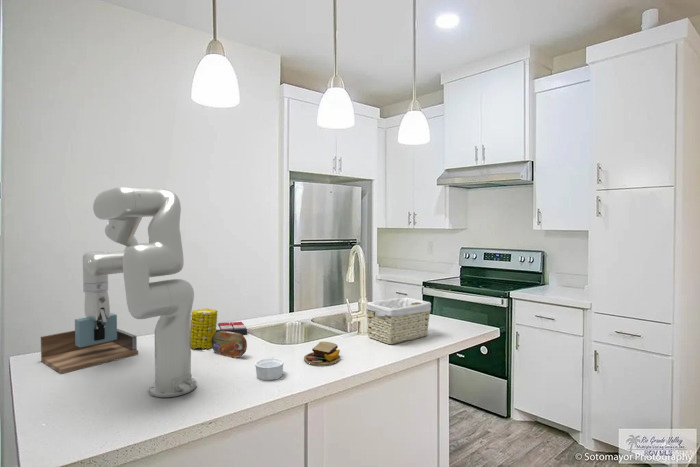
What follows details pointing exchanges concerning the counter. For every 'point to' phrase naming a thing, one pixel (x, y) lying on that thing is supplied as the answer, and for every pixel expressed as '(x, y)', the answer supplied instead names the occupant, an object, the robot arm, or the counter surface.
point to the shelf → (84, 351)
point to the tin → (229, 344)
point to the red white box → (232, 327)
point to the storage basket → (397, 319)
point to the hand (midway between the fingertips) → (96, 337)
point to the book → (86, 331)
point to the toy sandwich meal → (323, 354)
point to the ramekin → (269, 368)
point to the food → (203, 327)
